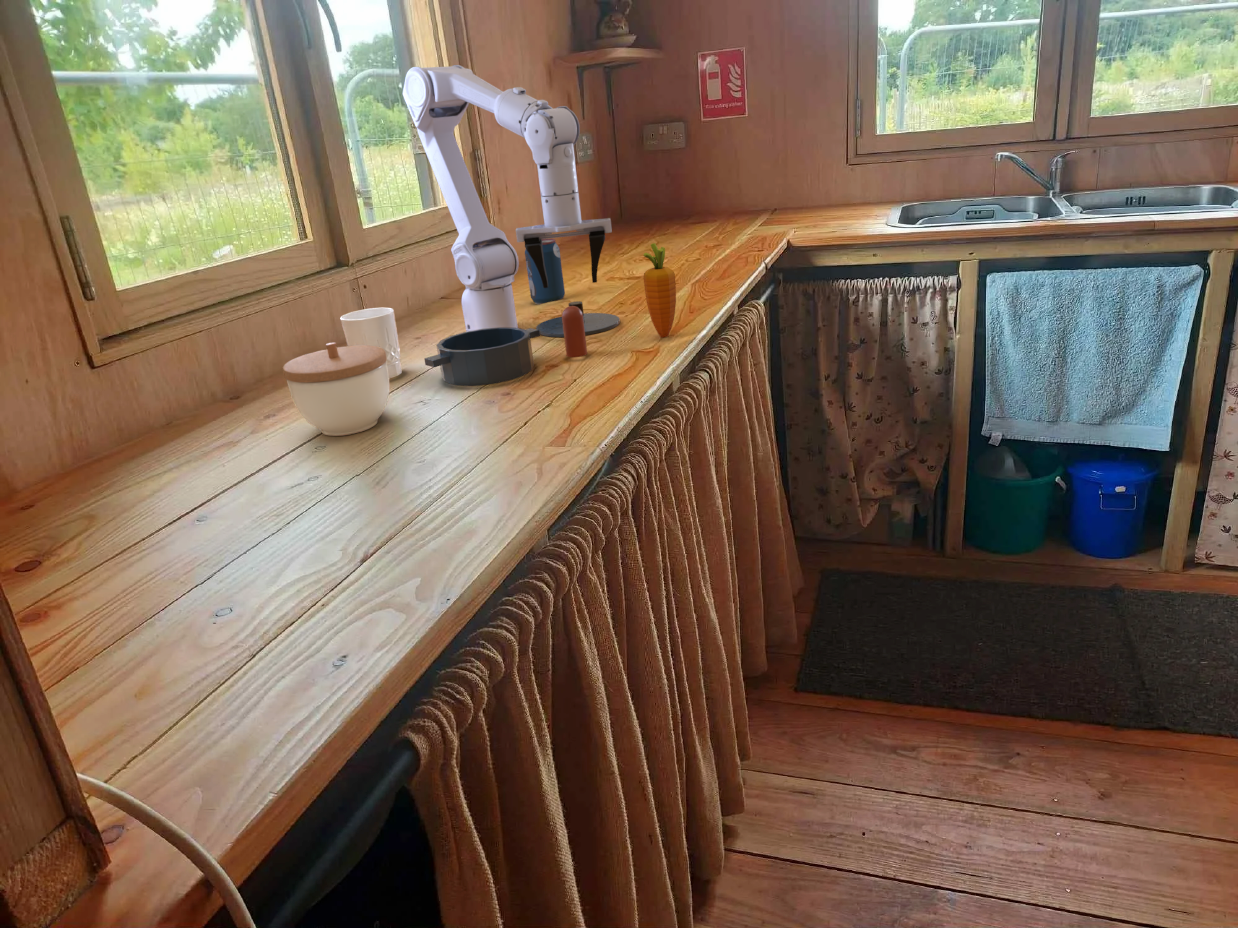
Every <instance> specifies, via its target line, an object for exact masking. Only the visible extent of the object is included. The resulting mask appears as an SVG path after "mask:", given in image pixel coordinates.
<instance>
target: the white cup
mask: <svg viewBox="0 0 1238 928" xmlns="http://www.w3.org/2000/svg"><path fill="white" fill-rule="evenodd" d="M339 320H340V323H341V326H342V330H343V333H344V337H345V343H346V346H357V345H368V346H377V347H380V348H382V349H384V350H385V352H386V358H387V360H386V363H387V368H388V374H389V379H392V378H395V377H397V376H399V375H401V374H402V373H403V370H402V369H403V368H402V363H401V351H400V343H399V335H398V334H399V333H398V329H397V321H396V316H395V309H394V308H391V307H371V308H364V309H359V310H354V311H350V312H348V313H345V314H343V315H341V316H340V317H339Z"/></svg>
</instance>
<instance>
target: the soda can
mask: <svg viewBox="0 0 1238 928" xmlns="http://www.w3.org/2000/svg"><path fill="white" fill-rule="evenodd" d="M542 247H543V256H544V264H545V269H546V274H547V278H548V288H543V283H542V280H541V277H540V274H539V272H538V270H537V267H536V265H535V263H534V262H533V260H532V258H531V256H530V255H529V253H528V252H527V250H526V249H524V257H525V265H526V271H527V280H528V287H529V293H530V295H529V296H530V298H531V300H532V302H534V304H535V305H539V306H540V305H543V304H548V303H551V302H556V301H559V300H563V299H564V297H565V294H566V290H565V283H564V275H563V266H562V259H561V251H560V246H559V245H558V244H557V242H556V238H548V239H542Z"/></svg>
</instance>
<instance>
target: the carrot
mask: <svg viewBox="0 0 1238 928" xmlns="http://www.w3.org/2000/svg"><path fill="white" fill-rule="evenodd" d="M650 247H651V249H652V252H653V254H654V255H651V254H650V253H648V252H644V253H643V257H644V258H647V259H648V260H649V261H650V262H651V263H652V265H653V267H651V268H649V269H647V270H645V271H644V273H643V286H644V293H645V294H644V295H645V300H646V301H645V302H646V305H647V309H648V313H649V316H650V320H651V323H652V325H653V327H654V329H655V331H656V333H657V335H658V336H659V337H660V338H663V339H665V338H668V337H669V335H670V332H671V330H672V328H673V324H674V321H675V315H676V304H677V285H676V273H675V271H674V270H673V269H672V268H670V267H668V266H664V262H665V257H666V248H665V247H663V246H661V247H660V248H659V249H658V246H657V244H656V243H655V242H653V243H651V244H650Z"/></svg>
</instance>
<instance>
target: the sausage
mask: <svg viewBox="0 0 1238 928" xmlns="http://www.w3.org/2000/svg"><path fill="white" fill-rule="evenodd" d="M561 317H562V323H563V331H564V337H563V338H564V346H565V355H566V357H568V358H580V357H584V356H586V355H587V354H588V347H587V339H586V335H585V329H584V320H583V313H582V311H581V310H580V309H579V308H578V307H576V306H569V305H568V306H567V307H565V308H564V309H563V311H562V312H561Z"/></svg>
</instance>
